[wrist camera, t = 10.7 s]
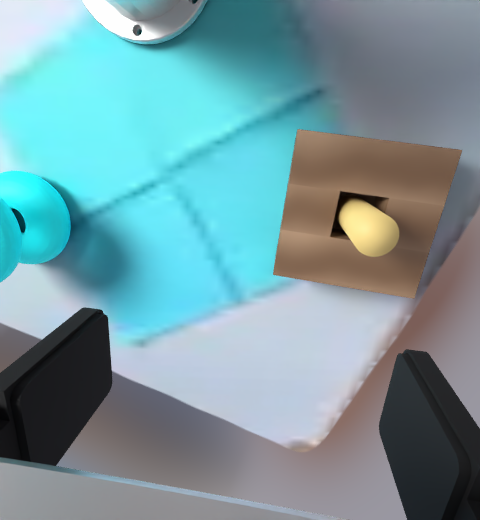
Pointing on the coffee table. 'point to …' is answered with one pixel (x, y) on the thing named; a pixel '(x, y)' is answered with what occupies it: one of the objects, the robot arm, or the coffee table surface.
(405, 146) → the bore block
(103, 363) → the robot arm
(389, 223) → the pin
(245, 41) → the coffee table surface
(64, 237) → the cyan round grooved piece
